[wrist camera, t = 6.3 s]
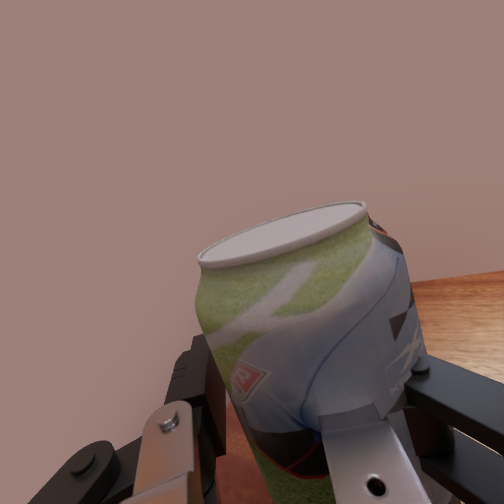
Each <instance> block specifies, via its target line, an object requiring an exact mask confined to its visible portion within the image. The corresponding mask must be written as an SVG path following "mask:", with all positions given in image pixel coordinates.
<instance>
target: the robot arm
mask: <svg viewBox="0 0 504 504" xmlns="http://www.w3.org/2000/svg"><path fill="white" fill-rule="evenodd" d="M173 371H174V372H173V374H172V377H171V381H170V384H169V388H168V392H167V395H166V399H165V402H164V406H162V407H161V408H159V409H158V410H157V411H155V412H154V413H153V414H152V415H151V416H150V418H149V419H148V421H147V422H146V424H145V426H144V430H143V435H142V436H141V437H139V438H138V439H136V440H134V441H133V442H131V443H129V444H127V445H125V446H124V447H122V448H120V449H118V450H116V451H115V450H114V448H113V446H112V444H111V443H110V442H108V441H98V442H94V443H92V444H89V445H87V446H86V447H84V448H82V449H81V450H79V451H78V452H77V453H76V454H74V455H73V456H72V457H71V458H70V459H69V460H68V461H67V462H66V463H65V464H64V465H63V466H62V467H61V468H60V469H59V470H58V472H57V473H56V474H55V475H54V476H53V477H52V478H51V479H50V480H49V481H48V482H47V483H46V485H44V487H43V488H42V489H41V490H40V491H39V492H38V493H37V494H36V495H35V496H34V497H33V498H32V499H31V501H30V502H29V503H28V504H221V498H220V490H219V482H218V478H217V475H216V472H215V470H216V457H219V456H222V455H226V387H225V384H224V382H223V379H222V377H221V374H220V372H219V370H218V367H217V365H216V362H215V360H214V358H213V355H212V353H211V350H210V348H209V345H208V343H207V341H206V338H205V336H204V334H201V335H197V336H194V337H193V341H192V346H191V350H189V351H185V352H183V353H182V355H181V356H180V357H179V358H178V359H177V361H176V363H175V367H174V370H173ZM411 372H412V375H411V377H410V378H409V379H408V380H407V381H406V382H405V383H404V388H405V393H406V398H407V401H408V403H407V404H406V405H404V406H403V407H402V408H403V412H404V415H405V419H406V422H407V426H408V429H409V433H410V436H411V440H412V443H413V447H414V450H415V454H416V456H419V459H420V464H421V469H422V471H423V472H424V473H425V474H427V475H428V476H429V477H431V478H432V479H433V480H435V481H436V482H437V483H439V484H440V485H441V486H442V487H444V488H445V489H446V490H448V491H449V492H450V493H452V494H453V495H454V496H456V497H457V498H458V499H460V500H461V501H462V502H464V503H465V504H504V384H502V383H500V382H497V381H495V380H492V379H490V378H487V377H484V376H482V375H479V374H477V373H474V372H472V371H469V370H466V369H464V368H461V367H459V366H456V365H454V364H451V363H449V362H446V361H443V360H441V359H438V358H436V357H433V356H431V355H428V354H424V353H423V356H422V357H418V359H417V362H416V363H415V364H414V366H413V367H412V368H411ZM318 420H319V425H320V429H321V435H322V440H323V444H324V449H325V454H326V458H327V463H328V467H329V472H330V476H331V481H332V485H333V490H334V495H335V499H336V504H432V503H431V501H430V499H429V497H428V495H427V493H426V491H425V490H424V488H423V486H422V484H421V482H420V480H419V478H418V476H417V474H416V472H415V470H414V468H413V466H412V464H411V462H410V460H409V458H408V456H407V454H406V452H405V450H404V449H403V447H402V445H401V443H400V441H399V439H398V437H397V435H396V433H395V431H394V429H393V427H392V426H391V424H390V423H389V422H388V421H382V419H381V417H380V415H379V413H378V411H377V409H376V407H375V405H374V403H372V404H369V405H366V406H363V407H360V408H356V409H353V410H350V411H347V412H341V413H335V414H328V415H322V416H318ZM454 428H456V429H458V430H459V431H461V432H463V433H465V434H467V435H468V436H470V437H472V438H474V439H475V440H477V441H479V442H481V443H482V444H484V445H486V446H488V447H490V448H491V449H493V450H495V451H496V452H498V453H499V454H500V455H499V454H497V453H495V452H494V451H492V450H490V449H488V448H486V447H485V446H483V445H481V444H479V443H478V442H476V441H474V440H472V439H471V438H469V437H467V436H465V435H464V434H462V433H460V432H458V431H457V430H455V429H454ZM501 455H502V456H503V457H502V456H501Z"/></svg>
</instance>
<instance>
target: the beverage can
mask: <svg viewBox="0 0 504 504" xmlns="http://www.w3.org/2000/svg"><path fill="white" fill-rule="evenodd" d="M197 261H198V263H199V265H200V267H201V278H200V282H199V285H198V290H197V294H196V300H195V309H196V314H197V318H198V321H199V323H200V326H201V328H202V331H203V333H204V336H205V338H206V341H207V343H208V345H209V348H210V350H211V353H212V355H213V358H214V360H215V362H216V365H217V367H218V370H219V372H220V374H221V377H222V379H223V382H224V384H225V387H226V389H227V391H228V394H229V396H230V399H231V401H232V404H233V406H234V408H235V411H236V413H237V416H238V418H239V421H240V423H241V425H242V428H243V430H244V433H245V435H246V438H247V440H248V442H249V445H250V447H251V450H252V452H253V455H254V457H255V459H256V462H257V464H258V467H259V469H260V472H261V474H262V476H263V479H264V481H265V484H266V486H267V489H268V491H269V493H270V496H271V498H272V501H273V503H274V504H336V499H335V495H334V490H333V485H332V481H331V476H330V472H329V467H328V463H327V458H326V454H325V449H324V444H323V440H322V435H321V429H320V425H319V420H318V416H322V415H328V414H335V413H341V412H347V411H350V410H353V409H356V408H360V407H363V406H366V405H369V404H372V403H374V405H375V407H376V409H377V411H378V413H379V415H380V417H381V419H382V421H388V422H389V423H390V424H391V426H392V427H393V429H394V431H395V433H396V435H397V437H398V439H399V441H400V443H401V445H402V447H403V449H404V450H405V452H406V454H407V456H408V458H409V460H410V462H411V464H412V466H413V468H414V470H415V472H416V474H417V476H418V478H419V480H420V482H421V484H422V486H423V488H424V490H425V491H426V493H427V495H428V497H429V499H430V501H431V503H432V504H461V501H460V499H458V498H457V497H456V496H454V495H453V494H452V493H450V492H449V491H448V490H446V489H445V488H444V487H442V486H441V485H440V484H439V483H437V482H436V481H435V480H433V479H432V478H431V477H429V476H428V475H427V474H425V473H424V472H423V471H422V469H421V464H420V459H419V456H416V454H415V450H414V447H413V443H412V440H411V436H410V433H409V429H408V426H407V422H406V419H405V415H404V412H403V408H402V407H403V406H404V405H406V404H407V403H408V401H407V398H406V393H405V388H404V383H405V382H406V381H407V380H408V379H409V378H410V377H411V375H412V372H411V368H412V367H413V366H414V364H415V363H416V362H417V359H418V357H422V356H423V353H424V354H427V353H426V348H425V344H424V340H423V335H422V331H421V326H420V322H419V318H418V313H417V309H416V305H415V300H414V296H413V291H412V287H411V283H410V279H409V274H408V270H407V265H406V261H405V258H404V255H403V251H402V249H401V247H400V245H399V244H398V243H397V241H396V240H395V239H394V238H393V237H392V236H391V235H390V234H388V233H387V232H386V231H385V230H384V229H383V228H381V227H380V226H379V225H378V224H376V223H375V222H374V221H372V220H371V219H370V217H369V215H368V212H367V205H366V204H365V203H364V202H362V201H344V202H337V203H331V204H327V205H322V206H318V207H314V208H310V209H306V210H302V211H299V212H295V213H292V214H288V215H285V216H282V217H279V218H276V219H273V220H270V221H267V222H264V223H261V224H258V225H256V226H253V227H250V228H248V229H245V230H243V231H240V232H238V233H236V234H233V235H231V236H229V237H227V238H224V239H222V240H220V241H218V242H216V243H215V244H213V245H211V246H209V247H208V248H206V249H205V250H203V251H202V252H201V253H200V254H199V255H198V257H197Z"/></svg>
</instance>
